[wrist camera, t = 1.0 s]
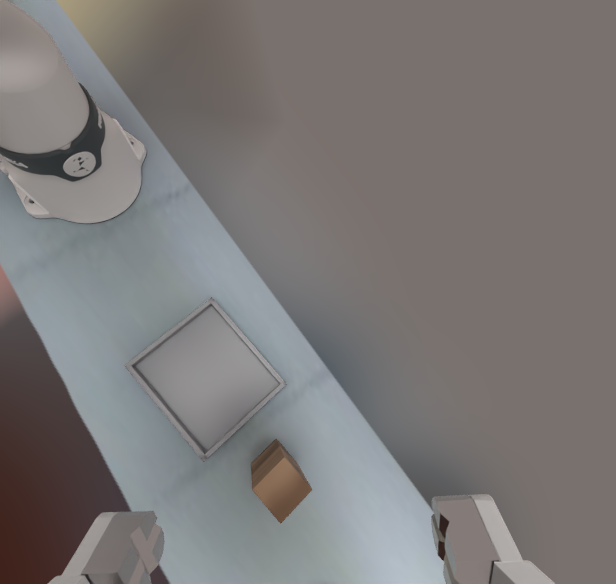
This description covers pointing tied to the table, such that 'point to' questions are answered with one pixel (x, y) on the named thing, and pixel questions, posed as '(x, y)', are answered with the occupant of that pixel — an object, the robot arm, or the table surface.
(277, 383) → the charcoal tray
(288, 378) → the table surface
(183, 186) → the table surface
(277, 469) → the walnut block
